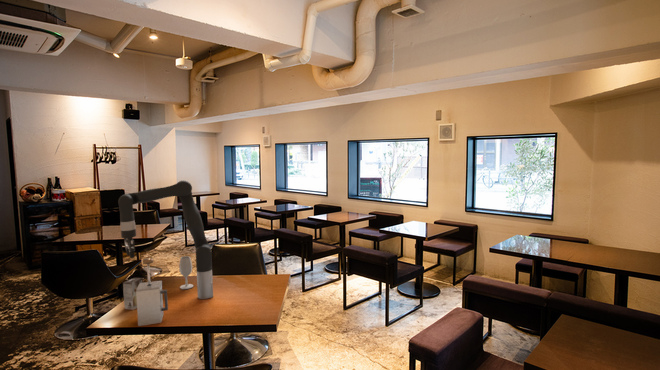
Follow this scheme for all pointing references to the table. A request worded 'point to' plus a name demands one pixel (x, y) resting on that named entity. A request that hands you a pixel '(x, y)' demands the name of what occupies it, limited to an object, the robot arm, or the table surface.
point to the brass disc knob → (148, 267)
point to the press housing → (150, 303)
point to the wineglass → (185, 270)
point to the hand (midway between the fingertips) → (130, 256)
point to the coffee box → (131, 292)
